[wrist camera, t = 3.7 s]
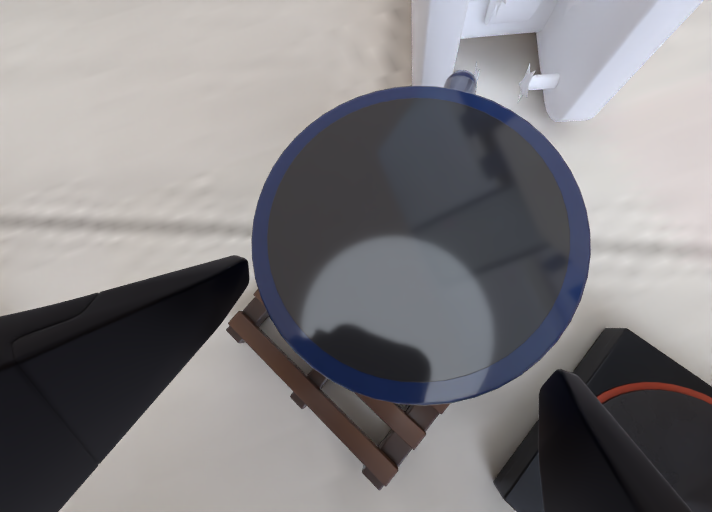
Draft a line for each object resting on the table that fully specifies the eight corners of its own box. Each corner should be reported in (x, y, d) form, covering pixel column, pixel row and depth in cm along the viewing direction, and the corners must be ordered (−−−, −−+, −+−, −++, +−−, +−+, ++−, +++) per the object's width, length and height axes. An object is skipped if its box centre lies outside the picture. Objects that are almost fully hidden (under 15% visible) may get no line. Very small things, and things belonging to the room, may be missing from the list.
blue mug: (443, 373, 15) (548, 475, 5) (323, 327, 17) (197, 328, 6) (490, 208, 17) (646, 12, 6) (378, 178, 18) (353, -25, 8)
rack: (380, 483, 16) (378, 495, 15) (232, 329, 19) (221, 330, 18) (527, 293, 17) (536, 291, 16) (366, 177, 20) (364, 168, 19)
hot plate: (696, 670, 13) (763, 747, 10) (492, 481, 15) (509, 509, 13) (815, 475, 14) (901, 505, 11) (604, 327, 16) (640, 327, 14)
